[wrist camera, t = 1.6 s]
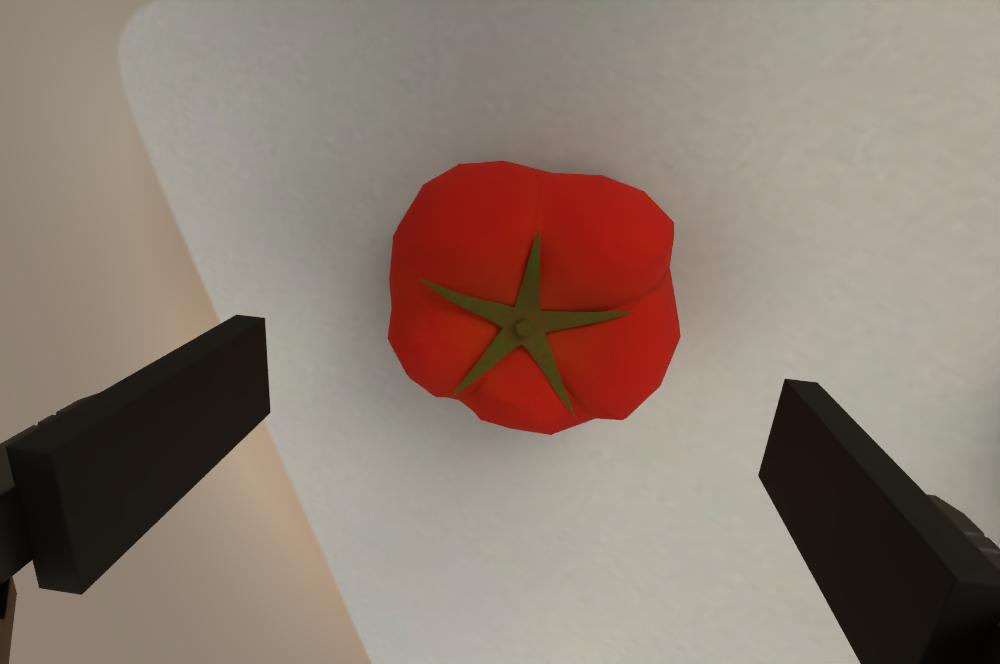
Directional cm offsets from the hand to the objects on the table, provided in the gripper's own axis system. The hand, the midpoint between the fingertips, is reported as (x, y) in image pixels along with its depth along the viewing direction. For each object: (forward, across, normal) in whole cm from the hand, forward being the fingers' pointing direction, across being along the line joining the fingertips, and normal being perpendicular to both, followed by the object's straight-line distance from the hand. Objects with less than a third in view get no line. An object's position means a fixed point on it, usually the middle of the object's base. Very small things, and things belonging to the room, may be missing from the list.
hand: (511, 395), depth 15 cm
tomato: (+11, 0, 0) cm, 11 cm away
